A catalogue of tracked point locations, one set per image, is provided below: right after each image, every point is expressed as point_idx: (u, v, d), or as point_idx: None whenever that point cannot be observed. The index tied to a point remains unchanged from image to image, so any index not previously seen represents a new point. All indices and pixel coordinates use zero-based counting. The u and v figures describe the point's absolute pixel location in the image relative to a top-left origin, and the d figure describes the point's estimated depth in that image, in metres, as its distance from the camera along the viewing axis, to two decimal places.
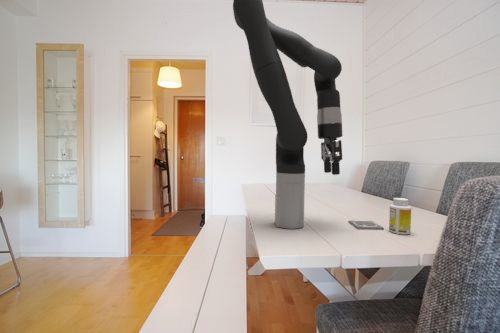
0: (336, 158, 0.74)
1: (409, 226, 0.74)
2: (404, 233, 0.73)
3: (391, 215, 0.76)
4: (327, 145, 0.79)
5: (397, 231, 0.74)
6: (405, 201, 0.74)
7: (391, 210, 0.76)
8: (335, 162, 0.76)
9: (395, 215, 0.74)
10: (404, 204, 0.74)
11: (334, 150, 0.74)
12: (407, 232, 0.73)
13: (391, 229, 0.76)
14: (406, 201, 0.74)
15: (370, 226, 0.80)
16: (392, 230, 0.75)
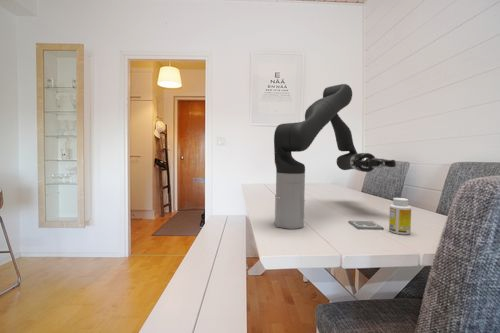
0: None
1: (409, 226, 0.74)
2: (404, 233, 0.73)
3: (391, 215, 0.76)
4: None
5: (397, 231, 0.74)
6: (405, 201, 0.74)
7: (391, 210, 0.76)
8: None
9: (395, 215, 0.74)
10: (404, 204, 0.74)
11: None
12: (407, 232, 0.73)
13: (391, 229, 0.76)
14: (406, 201, 0.74)
15: (370, 226, 0.80)
16: (392, 230, 0.75)
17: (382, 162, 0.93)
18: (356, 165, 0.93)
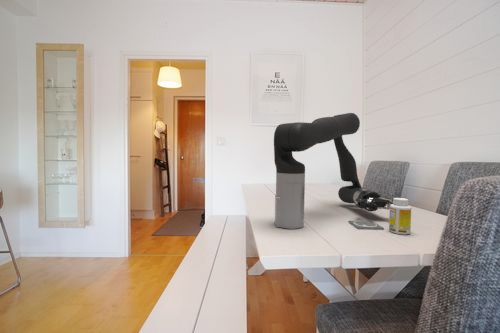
0: None
1: (409, 226, 0.74)
2: (404, 233, 0.73)
3: (391, 215, 0.76)
4: None
5: (397, 231, 0.74)
6: (405, 201, 0.74)
7: (391, 210, 0.76)
8: None
9: (395, 215, 0.74)
10: (404, 204, 0.74)
11: None
12: (407, 232, 0.73)
13: (391, 229, 0.76)
14: (406, 201, 0.74)
15: (370, 226, 0.80)
16: (392, 230, 0.75)
17: (388, 203, 0.88)
18: (361, 207, 0.87)
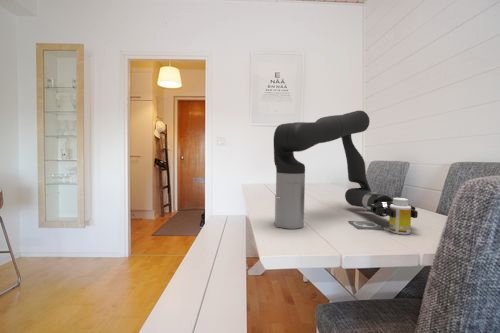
0: None
1: (409, 226, 0.74)
2: (404, 233, 0.73)
3: None
4: None
5: (397, 231, 0.74)
6: (405, 201, 0.74)
7: None
8: None
9: None
10: (404, 204, 0.74)
11: None
12: (407, 232, 0.73)
13: (391, 229, 0.76)
14: (406, 201, 0.74)
15: (370, 226, 0.80)
16: (392, 230, 0.75)
17: None
18: (378, 213, 0.78)
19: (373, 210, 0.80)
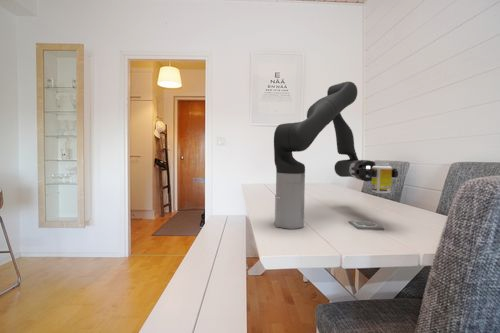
0: None
1: (390, 185, 0.77)
2: (385, 192, 0.76)
3: None
4: None
5: (378, 190, 0.77)
6: (386, 161, 0.77)
7: None
8: None
9: (377, 175, 0.77)
10: (385, 164, 0.77)
11: None
12: (388, 191, 0.76)
13: (373, 189, 0.79)
14: (387, 161, 0.77)
15: (370, 226, 0.80)
16: (374, 190, 0.78)
17: None
18: (361, 174, 0.81)
19: (357, 173, 0.83)
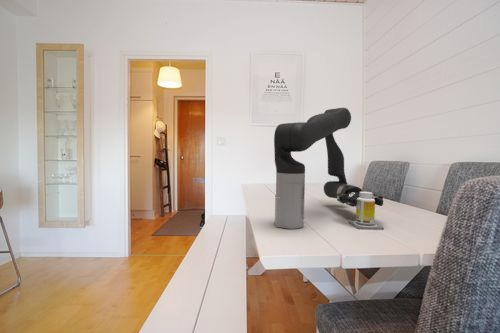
0: None
1: (373, 217, 0.81)
2: (368, 223, 0.80)
3: (357, 207, 0.83)
4: None
5: (362, 222, 0.81)
6: (369, 194, 0.81)
7: (357, 202, 0.83)
8: None
9: (360, 207, 0.81)
10: (368, 197, 0.81)
11: None
12: (371, 222, 0.80)
13: (357, 220, 0.82)
14: (370, 194, 0.81)
15: (370, 226, 0.80)
16: (358, 221, 0.82)
17: None
18: (342, 202, 0.85)
19: (340, 199, 0.88)
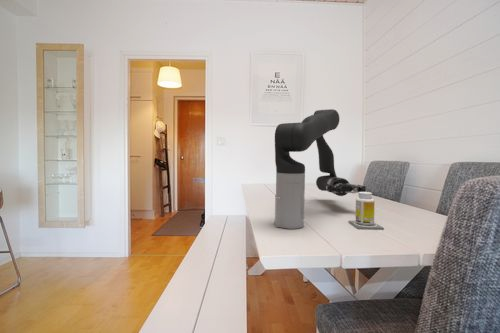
0: None
1: (372, 217, 0.81)
2: (368, 224, 0.80)
3: (357, 207, 0.82)
4: None
5: (362, 222, 0.81)
6: (369, 194, 0.81)
7: (357, 203, 0.82)
8: None
9: (360, 207, 0.81)
10: (368, 197, 0.81)
11: None
12: (371, 223, 0.80)
13: (357, 220, 0.82)
14: (369, 194, 0.81)
15: (370, 226, 0.80)
16: (358, 221, 0.82)
17: (354, 188, 0.99)
18: (329, 190, 0.98)
19: (328, 189, 1.00)
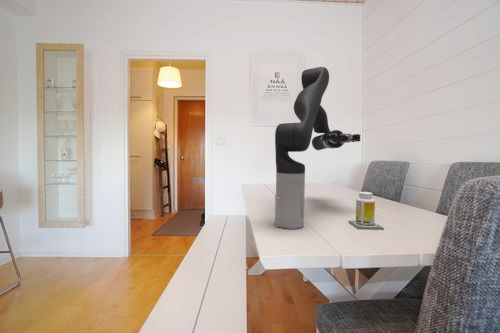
0: None
1: (373, 217, 0.81)
2: (368, 224, 0.80)
3: (357, 208, 0.82)
4: None
5: (362, 222, 0.81)
6: (369, 195, 0.81)
7: (357, 203, 0.82)
8: None
9: (361, 207, 0.81)
10: (368, 197, 0.81)
11: None
12: (371, 223, 0.80)
13: (357, 220, 0.82)
14: (370, 195, 0.81)
15: (370, 226, 0.80)
16: (358, 221, 0.82)
17: (349, 137, 0.98)
18: (324, 139, 0.98)
19: (323, 139, 1.00)
